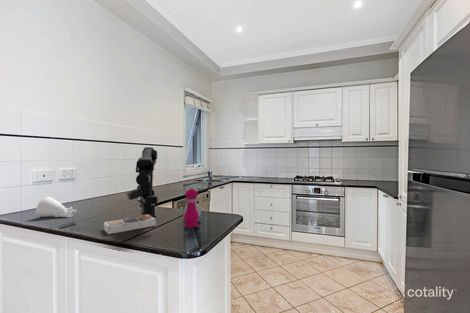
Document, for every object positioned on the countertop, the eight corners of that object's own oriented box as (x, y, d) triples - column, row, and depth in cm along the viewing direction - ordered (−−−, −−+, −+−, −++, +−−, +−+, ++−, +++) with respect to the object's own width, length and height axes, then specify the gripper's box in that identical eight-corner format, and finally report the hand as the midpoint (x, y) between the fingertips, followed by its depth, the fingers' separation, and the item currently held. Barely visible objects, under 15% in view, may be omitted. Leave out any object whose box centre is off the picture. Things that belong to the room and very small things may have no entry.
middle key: (133, 220, 120) (133, 216, 120) (136, 222, 116) (136, 218, 116) (124, 221, 117) (124, 217, 117) (126, 223, 113) (126, 219, 113)
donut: (201, 220, 130) (201, 201, 130) (198, 222, 126) (198, 203, 127) (186, 218, 133) (186, 200, 134) (182, 220, 130) (182, 201, 130)
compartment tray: (149, 221, 127) (149, 215, 127) (155, 225, 120) (155, 218, 120) (103, 229, 113) (103, 222, 113) (108, 234, 106) (108, 226, 106)
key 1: (118, 225, 115) (118, 221, 115) (121, 227, 112) (121, 223, 112) (108, 226, 112) (108, 222, 112) (110, 229, 109) (110, 224, 109)
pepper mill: (184, 224, 122) (185, 185, 122) (199, 224, 122) (199, 184, 122) (183, 228, 114) (183, 186, 115) (198, 228, 115) (198, 186, 115)
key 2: (148, 218, 124) (148, 214, 124) (151, 219, 121) (151, 215, 121) (138, 219, 121) (138, 215, 121) (141, 221, 118) (141, 217, 118)
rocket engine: (77, 200, 138) (49, 192, 140) (62, 216, 130) (32, 208, 131) (83, 212, 146) (56, 205, 147) (69, 228, 137) (41, 220, 139)
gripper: (123, 183, 123) (122, 213, 123) (134, 186, 109) (134, 220, 109) (144, 181, 130) (144, 210, 130) (158, 184, 116) (158, 217, 116)
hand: (145, 214), depth 121 cm, fingers closed
